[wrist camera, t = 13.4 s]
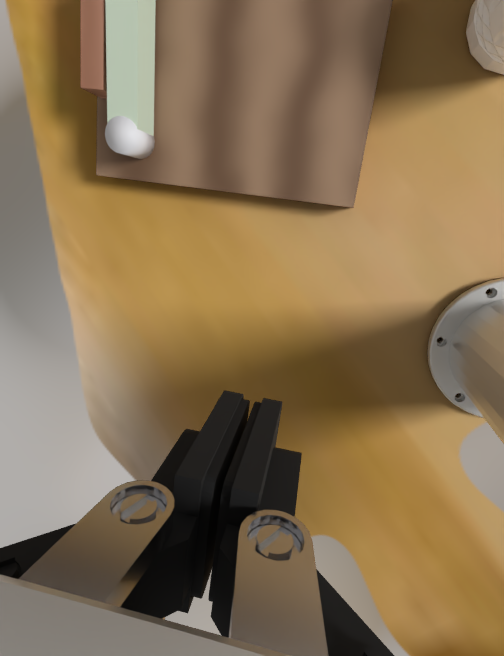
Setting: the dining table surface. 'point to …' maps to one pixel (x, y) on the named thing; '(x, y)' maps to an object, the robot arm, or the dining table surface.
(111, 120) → the stool leg
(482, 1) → the white cup
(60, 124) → the dining table surface
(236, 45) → the stool seat
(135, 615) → the robot arm
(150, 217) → the dining table surface
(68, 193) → the dining table surface
